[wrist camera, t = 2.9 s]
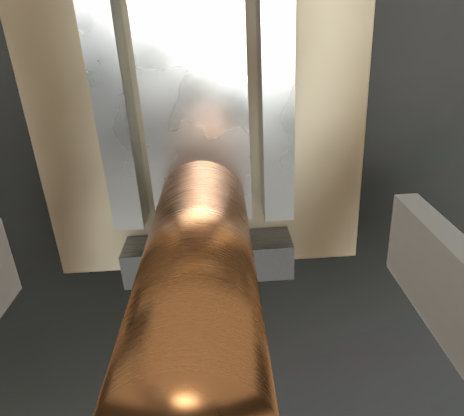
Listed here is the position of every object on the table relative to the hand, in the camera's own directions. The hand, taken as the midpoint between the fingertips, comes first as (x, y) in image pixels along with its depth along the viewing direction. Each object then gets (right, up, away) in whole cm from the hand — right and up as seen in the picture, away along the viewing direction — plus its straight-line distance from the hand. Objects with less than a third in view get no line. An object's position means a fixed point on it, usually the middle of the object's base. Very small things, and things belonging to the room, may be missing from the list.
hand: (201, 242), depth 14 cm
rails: (0, +4, +4) cm, 5 cm away
